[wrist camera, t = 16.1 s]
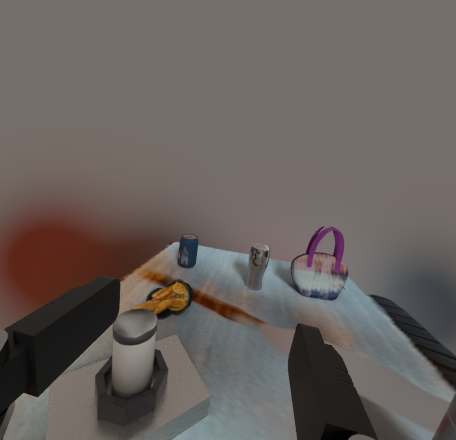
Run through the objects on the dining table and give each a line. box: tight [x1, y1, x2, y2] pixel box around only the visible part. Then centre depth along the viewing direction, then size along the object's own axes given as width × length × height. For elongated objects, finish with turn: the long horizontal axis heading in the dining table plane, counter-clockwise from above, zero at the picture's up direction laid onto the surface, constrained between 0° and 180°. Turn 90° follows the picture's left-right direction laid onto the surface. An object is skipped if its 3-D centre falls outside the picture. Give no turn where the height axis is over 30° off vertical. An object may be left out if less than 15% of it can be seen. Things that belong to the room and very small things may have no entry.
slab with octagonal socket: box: [45, 334, 211, 440], centre depth 32 cm, size 20×14×7 cm
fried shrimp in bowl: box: [130, 279, 194, 319], centre depth 53 cm, size 9×11×18 cm
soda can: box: [178, 234, 198, 268], centre depth 81 cm, size 7×7×12 cm
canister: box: [111, 309, 158, 400], centre depth 31 cm, size 6×6×12 cm
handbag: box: [291, 227, 348, 300], centre depth 75 cm, size 21×10×25 cm, turn 88°
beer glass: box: [245, 243, 271, 290], centre depth 74 cm, size 7×7×15 cm
